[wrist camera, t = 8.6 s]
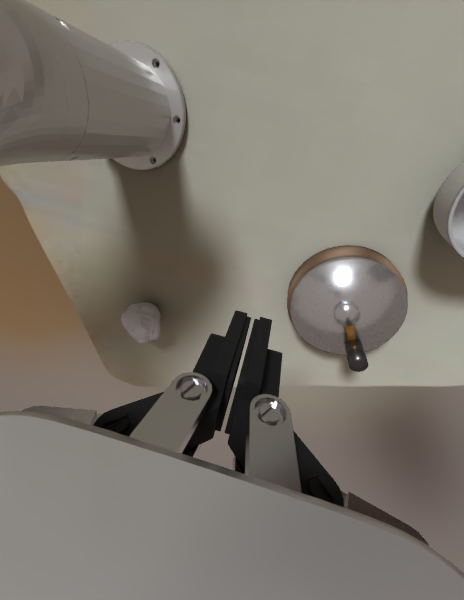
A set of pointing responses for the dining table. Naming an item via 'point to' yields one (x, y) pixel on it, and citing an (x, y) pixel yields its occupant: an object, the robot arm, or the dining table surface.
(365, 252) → the plinth
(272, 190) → the dining table surface
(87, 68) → the robot arm
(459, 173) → the teacup
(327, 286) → the handwheel
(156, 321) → the grey lumpy ball
